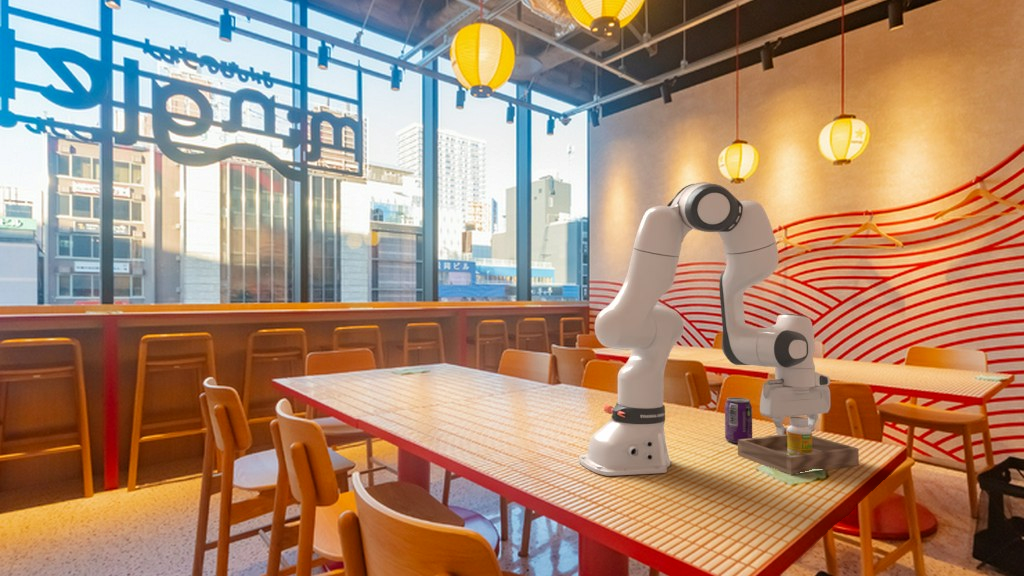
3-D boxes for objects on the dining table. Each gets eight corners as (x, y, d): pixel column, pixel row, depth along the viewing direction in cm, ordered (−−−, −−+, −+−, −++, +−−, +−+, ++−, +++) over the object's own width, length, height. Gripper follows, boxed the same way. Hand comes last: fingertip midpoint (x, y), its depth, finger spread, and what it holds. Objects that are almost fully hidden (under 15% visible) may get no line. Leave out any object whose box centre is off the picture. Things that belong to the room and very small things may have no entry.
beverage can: (757, 445, 138) (756, 401, 138) (731, 445, 138) (730, 401, 138) (745, 438, 145) (745, 397, 145) (721, 438, 145) (720, 397, 146)
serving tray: (791, 475, 114) (791, 457, 114) (737, 455, 129) (737, 439, 129) (858, 464, 121) (858, 448, 121) (800, 447, 136) (800, 432, 136)
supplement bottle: (804, 462, 120) (803, 421, 120) (782, 456, 125) (782, 417, 125) (817, 458, 122) (816, 419, 123) (795, 453, 127) (795, 415, 128)
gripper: (774, 382, 119) (774, 439, 119) (835, 377, 126) (836, 432, 126) (753, 378, 125) (753, 433, 125) (812, 374, 132) (813, 426, 132)
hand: (795, 432), depth 125 cm, fingers open, 8 cm apart
